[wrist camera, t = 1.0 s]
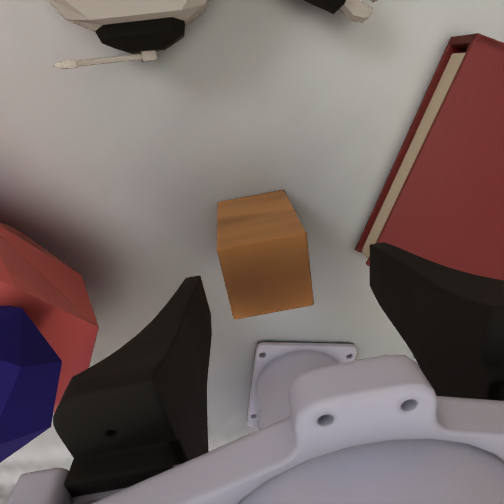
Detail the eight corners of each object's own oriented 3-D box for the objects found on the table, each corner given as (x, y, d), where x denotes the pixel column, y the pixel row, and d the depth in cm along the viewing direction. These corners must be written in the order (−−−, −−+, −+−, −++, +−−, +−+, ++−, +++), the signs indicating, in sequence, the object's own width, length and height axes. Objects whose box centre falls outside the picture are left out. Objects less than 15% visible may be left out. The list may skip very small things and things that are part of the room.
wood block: (291, 248, 24) (314, 305, 18) (230, 259, 24) (233, 320, 18) (283, 189, 22) (306, 232, 16) (217, 201, 22) (216, 248, 16)
